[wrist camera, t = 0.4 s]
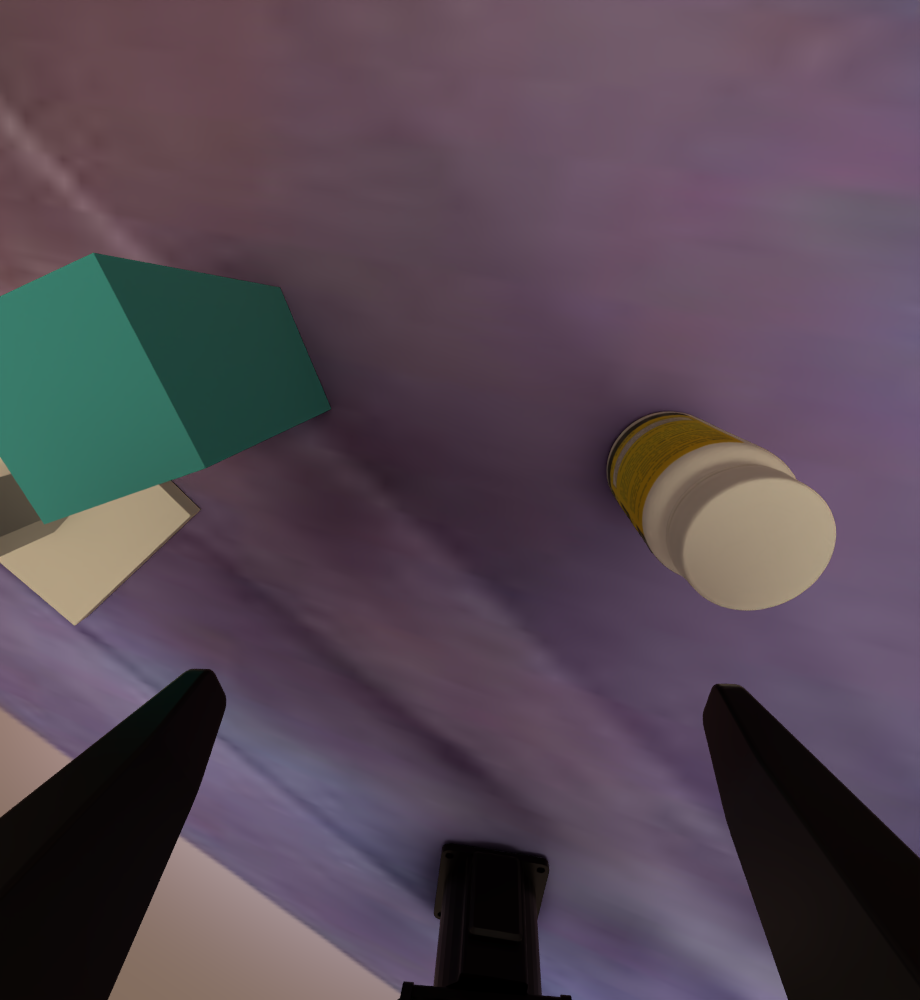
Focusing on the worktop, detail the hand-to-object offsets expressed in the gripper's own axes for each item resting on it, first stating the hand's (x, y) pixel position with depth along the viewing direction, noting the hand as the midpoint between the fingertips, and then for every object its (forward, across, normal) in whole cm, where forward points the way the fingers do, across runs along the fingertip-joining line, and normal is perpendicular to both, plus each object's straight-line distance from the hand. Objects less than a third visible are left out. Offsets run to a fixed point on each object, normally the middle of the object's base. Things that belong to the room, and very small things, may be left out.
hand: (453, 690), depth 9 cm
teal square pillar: (+14, +10, -2) cm, 18 cm away
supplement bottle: (+14, -8, +3) cm, 16 cm away
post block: (+13, +21, +4) cm, 25 cm away
